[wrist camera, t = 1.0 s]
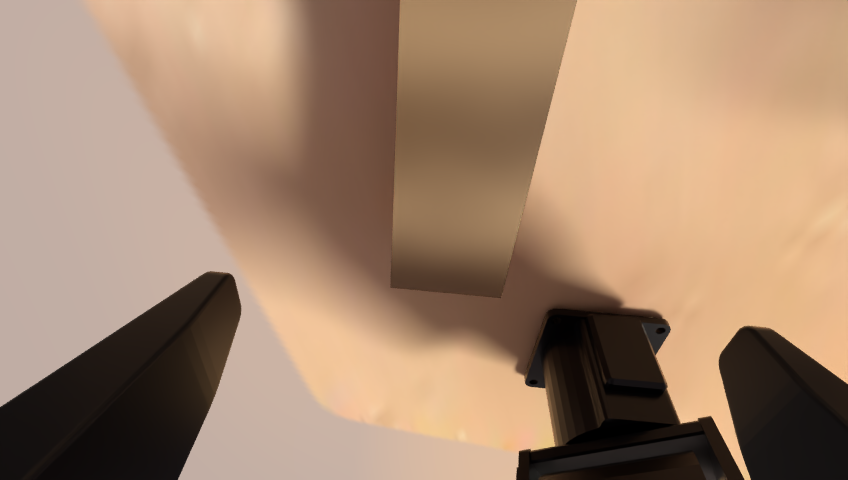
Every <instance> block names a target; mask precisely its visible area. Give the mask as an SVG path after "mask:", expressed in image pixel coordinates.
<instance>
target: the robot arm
mask: <svg viewBox="0 0 848 480" xmlns="http://www.w3.org/2000/svg"><path fill="white" fill-rule="evenodd" d="M240 316H241V303H240V299H239V295H238V291H237V287H236V283H235V279H234V277H233V276H232V275H231V274H229V273H223V272H212V271H210V272H206V273H204V274H203V275H201V276H199V277H198V278H196V279H195V280H193V281H192V282H190V283H189V284H187V285H186V286H184V287H183V288H181V289H180V290H178V291H177V292H175V293H174V294H172V295H171V296H169V297H168V298H166V299H165V300H163V301H161V302H160V303H158V304H157V305H155V306H154V307H152V308H151V309H149V310H148V311H146V312H145V313H143V314H142V315H140V316H138V317H137V318H135V319H134V320H132V321H131V322H129V323H128V324H126V325H125V326H123V327H122V328H120V329H119V330H117V331H116V332H114V333H113V334H111V335H109V336H108V337H106V338H105V339H103V340H102V341H100V342H99V343H97V344H96V345H94V346H93V347H91V348H90V349H88V350H87V351H85V352H84V353H82V354H81V355H79V356H77V357H76V358H74V359H73V360H71V361H70V362H68V363H67V364H65V365H64V366H62V367H61V368H59V369H58V370H56V371H55V372H53V373H52V374H50V375H48V376H47V377H45V378H44V379H42V380H41V381H39V382H38V383H36V384H35V385H33V386H32V387H30V388H29V389H27V390H26V391H24V392H22V393H21V394H19V395H18V396H16V397H15V398H13V399H12V400H10V401H9V402H7V403H6V404H4V405H3V406H1V407H0V480H178V478H179V476H180V474H181V471H182V469H183V467H184V465H185V462H186V460H187V458H188V456H189V454H190V451H191V449H192V447H193V445H194V442H195V440H196V438H197V436H198V434H199V431H200V429H201V427H202V424H203V422H204V420H205V418H206V416H207V413H208V411H209V409H210V407H211V404H212V402H213V399H214V397H215V394H216V391H217V389H218V386H219V383H220V380H221V376H222V373H223V370H224V367H225V363H226V361H227V357H228V355H229V351H230V348H231V345H232V342H233V339H234V336H235V332H236V329H237V326H238V323H239V320H240ZM554 318H555V319H554ZM670 330H671V329H670V326H669V324H668V322H667V321H666V320H665V319H659V318H649V317H638V316H627V315H617V314H606V313H596V312H585V311H574V310H564V309H552V310H550V311H548V312H547V314H546V316H545V318H544V321H543V324H542V327H541V330H540V333H539V336H538V338H537V341H536V344H535V347H534V350H533V353H532V356H531V359H530V361H529V364H528V367H527V370H526V373H525V377H524V378H525V384H526V385H527V386H530V387H538V388H546V394H547V400H548V406H549V412H550V418H551V424H552V430H553V436H554V442H555V447H550V448H544V449H539V450H533V451H531V450H530V449H527V450H522V451H519V465H518V466H519V467H518V468H517V475H516V480H744V478H743V476H742V474H741V472H740V470H739V468H738V466H737V464H736V462H735V461H734V459H733V457H732V455H731V453H730V451H729V449H728V447H727V445H726V443H725V441H724V440H723V438H722V436H721V434H720V432H719V430H718V428H717V426H716V424H715V422H714V420H713V419H712V417H711V416H708V417H703V418H698V421H693V422H688V423H682V424H681V423H680V420H679V418H678V415H677V413H676V410H675V408H674V405H673V403H672V400H671V398H670V395H669V393H668V391H667V383H666V380H665V378H664V375H663V373H662V370H661V368H660V365H659V363H658V361H657V358H656V356H655V355H656V354H657V352H658V350H659V349H660V347H661V345H662V344H663V342H664V341H665V339H666V337H667V336H668V334H669V333H670ZM719 369H720V373H721V377H722V381H723V385H724V389H725V393H726V397H727V401H728V404H729V408H730V412H731V416H732V420H733V424H734V428H735V432H736V436H737V439H738V443H739V446H740V450H741V453H742V456H743V459H744V461H745V464H746V467H747V470H748V472H749V475H750V478H751V480H848V384H847V383H845V382H844V381H843V380H841V379H840V378H839V377H837V376H836V375H834V374H833V373H832V372H830V371H829V370H828V369H826V368H825V367H823V366H822V365H821V364H819V363H818V362H817V361H815V360H814V359H812V358H811V357H810V356H808V355H807V354H806V353H804V352H803V351H801V350H800V349H799V348H797V347H796V346H795V345H793V344H792V343H790V342H789V341H788V340H786V339H785V338H784V337H782V336H781V335H779V334H778V333H777V332H775V331H774V330H772V329H770V328H766V327H756V326H744V327H742V328H740V329H739V330H738V332H737V333H736V334H735V335H734V337H733V338H732V339H731V341H730V342H729V343H728V345H727V346H726V347H725V349H724V350H723V351H722V353H721V354H720V357H719Z"/></svg>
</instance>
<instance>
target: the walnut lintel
mask: <svg viewBox="0 0 848 480" xmlns="http://www.w3.org/2000/svg"><path fill="white" fill-rule="evenodd" d="M576 3H577V0H400V15H399V46H398V76H397V107H396V137H395V168H394V198H393V229H392V259H391V288H401V289H411V290H422V291H433V292H443V293H454V294H465V295H475V296H486V297H497V298H501V296H502V292H503V288H504V284H505V280H506V276H507V272H508V269H509V265H510V261H511V257H512V253H513V249H514V245H515V241H516V237H517V233H518V229H519V225H520V222H521V218H522V214H523V210H524V206H525V202H526V198H527V194H528V190H529V186H530V182H531V179H532V175H533V171H534V167H535V163H536V159H537V155H538V151H539V147H540V143H541V139H542V136H543V132H544V128H545V124H546V120H547V116H548V112H549V108H550V104H551V100H552V96H553V93H554V89H555V85H556V81H557V77H558V73H559V69H560V65H561V61H562V57H563V53H564V49H565V46H566V42H567V38H568V34H569V30H570V26H571V22H572V18H573V14H574V10H575V6H576Z"/></svg>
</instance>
